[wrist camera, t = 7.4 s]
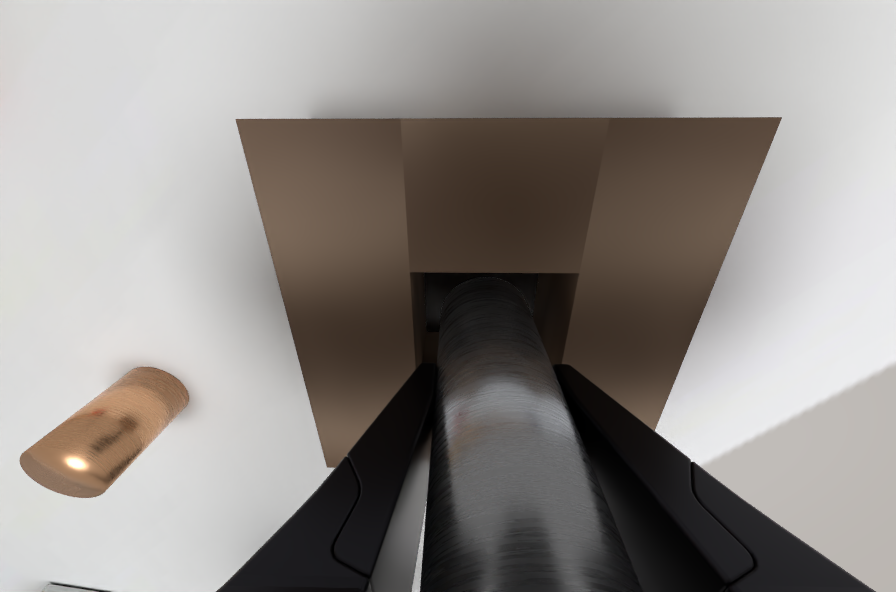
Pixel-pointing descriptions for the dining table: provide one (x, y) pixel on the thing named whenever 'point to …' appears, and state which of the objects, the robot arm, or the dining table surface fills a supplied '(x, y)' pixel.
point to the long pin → (510, 462)
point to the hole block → (497, 241)
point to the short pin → (106, 434)
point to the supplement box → (63, 589)
